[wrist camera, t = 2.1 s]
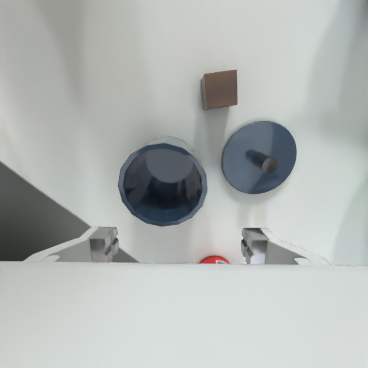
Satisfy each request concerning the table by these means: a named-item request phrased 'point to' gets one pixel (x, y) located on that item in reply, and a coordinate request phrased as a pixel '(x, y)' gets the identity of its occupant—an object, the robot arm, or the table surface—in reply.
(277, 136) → the lid
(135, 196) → the pot
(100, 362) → the robot arm
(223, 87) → the block
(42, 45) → the table surface
